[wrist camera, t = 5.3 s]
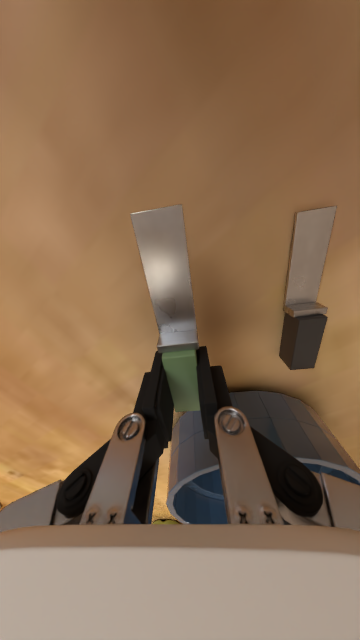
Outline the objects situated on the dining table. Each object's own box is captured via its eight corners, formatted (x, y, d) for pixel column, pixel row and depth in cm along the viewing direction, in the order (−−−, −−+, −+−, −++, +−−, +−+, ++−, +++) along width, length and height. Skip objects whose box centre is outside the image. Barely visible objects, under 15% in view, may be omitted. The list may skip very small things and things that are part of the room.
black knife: (302, 353, 14) (317, 368, 13) (276, 356, 15) (287, 370, 13) (334, 206, 10) (363, 199, 8) (295, 212, 10) (316, 207, 8)
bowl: (159, 392, 17) (147, 462, 12) (335, 378, 15) (414, 452, 10) (182, 472, 24) (181, 538, 19) (303, 469, 23) (340, 539, 17)
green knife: (203, 386, 12) (206, 410, 10) (173, 389, 12) (172, 412, 10) (182, 205, 7) (180, 195, 5) (131, 214, 7) (115, 208, 5)
